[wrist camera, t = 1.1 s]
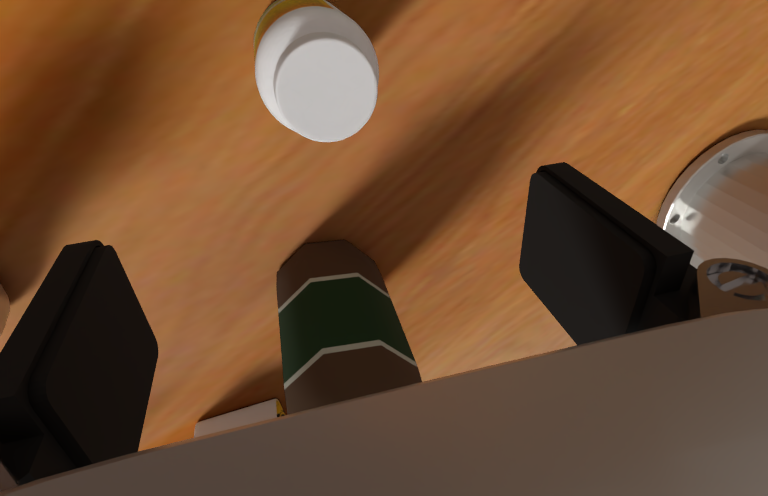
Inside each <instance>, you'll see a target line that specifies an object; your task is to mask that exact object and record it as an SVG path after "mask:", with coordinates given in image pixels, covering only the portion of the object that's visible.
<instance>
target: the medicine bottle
mask: <svg viewBox="0 0 768 496" xmlns="http://www.w3.org/2000/svg"><path fill="white" fill-rule="evenodd" d="M281 416H285V413H284V411H283V409H282V406H281V404H280V402H279V400H278V399H272V400H268V401H265V402H262V403H259V404H255V405H252V406H249V407H246V408H242V409H239V410H236V411H233V412H229V413H226V414H223V415H220V416H216V417H213V418H210V419H207V420H203V421H200V422H198V423H197V424H196V426H195V433H194V438H195V437H199V436H203V435H208V434H212V433H216V432H220V431H224V430H228V429H232V428H236V427H240V426H244V425H248V424H252V423H256V422H260V421H264V420H268V419H273V418H277V417H281Z"/></svg>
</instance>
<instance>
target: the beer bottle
mask: <svg viewBox="0 0 768 496" xmlns="http://www.w3.org/2000/svg"><path fill="white" fill-rule="evenodd" d="M277 300H278V313H279V326H280V339H281V352H282V365H283V378H284V391H285V398H286V406H287V413H288V415H289V414H293V413H297V412H301V411H305V410H309V409H313V408H317V407H321V406H325V405H329V404H333V403H338V402H342V401H346V400H350V399H354V398H358V397H362V396H366V395H371V394H375V393H379V392H383V391H387V390H391V389H395V388H400V387H404V386H408V385H412V384H416V383H420V382H422V380H421V377H420V373H419V370H418V367H417V364H416V362H415V359H414V357H413V354H412V352H411V349H410V346H409V344H408V341H407V339H406V336H405V334H404V331H403V329H402V326H401V324H400V321H399V319H398V316H397V314H396V311H395V309H394V306H393V304H392V301H391V299H390V296H389V294H388V291H387V288H386V286H385V283H384V281H383V278H382V276H381V274H380V272H379V270H378V268H377V266H376V264H375V262H374V261H373V260H372V259H370V258H369V257H368V256H366V255H365V254H364V253H362V252H361V251H360V250H358V249H357V248H356V247H354V246H353V245H352V244H350V243H349V242H347V241H346V240H337V241H327V242H318V243H308V244H304V245H303V246H302V247H301V248H300V249H299V250H298V251H297V252H296V253H295V254H294V255H293V256H292V257H291V258H290V259H289V260H288V261H287V262H286V263H285V265H284V266H283V267H282V268H281V269H280V270H279V271H278V272H277Z"/></svg>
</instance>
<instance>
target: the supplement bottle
mask: <svg viewBox="0 0 768 496" xmlns="http://www.w3.org/2000/svg"><path fill="white" fill-rule="evenodd" d="M254 59H255V77H256V83H257V86H258V90H259V93H260V95H261V98H262V100H263V102H264V104H265V105H266V107H267V108H268V110H269V111H270V113H271V114H272V115H273V116H274V117H275V118H276V119H277V120H278V121H279V122H280V123H282V124H283V125H284V126H286V127H287V128H289V129H291V130H293V131H295V132H297V133H299V134H300V135H302V136H304V137H306V138H308V139H311V140H314V141H319V142H334V141H339V140H343V139H345V138H348V137H350V136H352V135H353V134H355V133H356V132H358V131H359V130H360V129H361V128H362V127H363V126H364V125H365V124H366V123H367V121H368V120H369V118H370V117H371V115H372V113H373V110H374V108H375V105H376V100H377V92H378V90H377V87H378V80H379V68H378V60H377V56H376V53H375V50H374V47H373V45H372V43H371V41H370V39H369V38H368V36H367V35H366V34H365V32H364V31H363V30H362V28H361V27H360V26H359V25H358V24H357V23H356V22H355V21H354V20H352V19H351V18H350V17H348V16H347V15H346V14H344V13H343V12H342V11H340V10H339V9H338V8H336V7H335V6H333V5H332V4H331V3H329V2H328V1H326V0H277V1H275V2H274V3H273V4H271V5H270V6H269V7H268V8H267V9H266V11H265V12H264V13H263V15H262V16H261V18H260V20H259V22H258V24H257V27H256V30H255V35H254Z"/></svg>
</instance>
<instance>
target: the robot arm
mask: <svg viewBox="0 0 768 496" xmlns="http://www.w3.org/2000/svg"><path fill="white" fill-rule="evenodd" d="M519 268H520V273H521V276H522V278H523V279H524V281H525V282H526V283H527V284H528V286H529V287H530V288H531V289H532V291H533V292H534V293H535V294H536V295H537V297H538V298H539V299H540V300H541V301H542V303H543V304H544V305H545V306H546V308H547V309H548V310H549V311H550V312H551V314H552V315H553V316H554V317H555V318H556V320H557V321H558V322H559V323H560V325H561V326H562V327H563V328H564V329H565V331H566V332H567V333H568V334H569V335H570V337H571V338H572V339H573V340H574V341H575V343H576V344H577V346H572V347H568V348H564V349H560V350H555V351H551V352H547V353H542V354H538V355H534V356H530V357H525V358H521V359H517V360H513V361H508V362H504V363H500V364H496V365H491V366H487V367H483V368H479V369H475V370H470V371H466V372H462V373H458V374H454V375H450V376H445V377H441V378H437V379H433V380H429V381H425V382H420V383H416V384H412V385H408V386H404V387H400V388H395V389H391V390H387V391H383V392H379V393H375V394H371V395H366V396H362V397H358V398H354V399H350V400H346V401H342V402H338V403H333V404H329V405H325V406H321V407H317V408H313V409H309V410H305V411H301V412H297V413H293V414H289V415H285V416H281V417H277V418H273V419H268V420H264V421H260V422H256V423H252V424H248V425H244V426H240V427H236V428H232V429H228V430H224V431H220V432H216V433H212V434H208V435H203V436H199V437H195V438H191V439H187V440H183V441H179V442H175V443H171V444H167V445H163V446H159V447H155V448H151V449H147V450H143V451H139V452H138V447H139V443H140V438H141V433H142V429H143V424H144V419H145V415H146V410H147V405H148V400H149V396H150V391H151V386H152V382H153V377H154V372H155V368H156V363H157V358H158V345H157V341H156V338H155V336H154V334H153V332H152V329H151V327H150V325H149V323H148V321H147V319H146V316H145V314H144V312H143V310H142V308H141V306H140V303H139V301H138V299H137V297H136V295H135V293H134V290H133V288H132V286H131V284H130V282H129V280H128V277H127V275H126V273H125V271H124V269H123V267H122V264H121V262H120V260H119V258H118V256H117V253H116V251H115V250H114V248H113V247H112V246H110V245H107V246H104V245H103V244H102V243H101V242H100V241H98V240H94V241H88V242H82V243H76V244H70V245H66V246H65V247H64V248H63V249H62V251H61V253H60V254H59V256H58V258H57V259H56V261H55V263H54V264H53V266H52V268H51V269H50V271H49V273H48V274H47V276H46V278H45V279H44V281H43V283H42V284H41V286H40V288H39V289H38V291H37V293H36V294H35V296H34V298H33V299H32V301H31V303H30V304H29V306H28V308H27V309H26V311H25V313H24V314H23V316H22V318H21V319H20V321H19V323H18V324H17V326H16V328H15V329H14V331H13V333H12V334H11V336H10V338H9V339H8V341H7V343H6V344H5V346H4V348H3V349H2V351H1V353H0V496H768V130H752V131H746V132H742V133H740V134H737V135H734V136H732V137H729V138H727V139H725V140H724V141H722V142H720V143H718V144H716V145H715V146H713V147H712V148H710V149H709V150H708V151H706V152H705V153H703V154H702V155H701V156H700V157H699V158H697V159H696V160H695V161H694V162H693V163H692V164H691V165H690V166H689V167H688V168H687V169H686V170H685V171H684V172H683V174H682V175H681V176H680V177H679V178H678V179H677V181H676V182H675V184H674V185H673V187H672V188H671V189H670V191H669V192H668V194H667V196H666V198H665V200H664V202H663V204H662V207H661V209H660V212H659V215H658V218H657V225H656V224H655V223H653V222H652V221H650V220H649V219H647V218H646V217H645V216H643V215H642V214H640V213H639V212H637V211H636V210H634V209H633V208H631V207H630V206H629V205H627V204H626V203H624V202H623V201H621V200H620V199H618V198H617V197H615V196H614V195H613V194H611V193H610V192H608V191H607V190H605V189H604V188H602V187H601V186H599V185H598V184H597V183H595V182H594V181H592V180H591V179H589V178H588V177H586V176H585V175H583V174H582V173H580V172H579V171H578V170H576V169H575V168H573V167H572V166H570V165H569V164H567V163H565V162H563V163H556V164H550V165H544V166H540V167H539V168H538V170H537V172H536V173H534V174H533V175H532V176H531V179H530V186H529V193H528V201H527V209H526V217H525V225H524V232H523V240H522V248H521V256H520V264H519Z"/></svg>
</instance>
